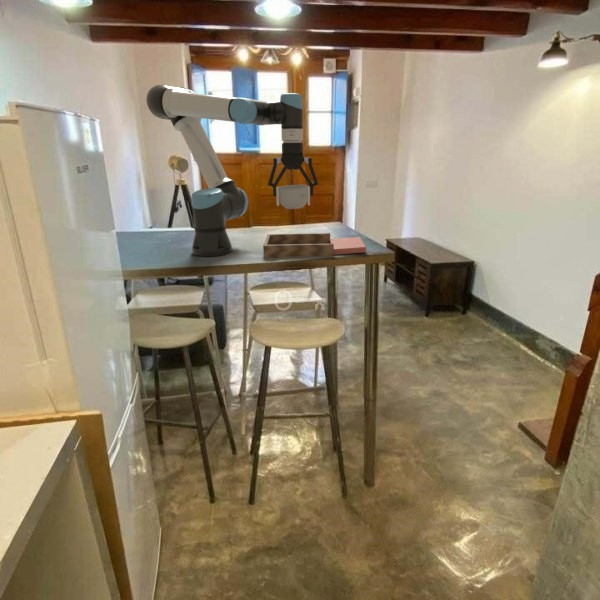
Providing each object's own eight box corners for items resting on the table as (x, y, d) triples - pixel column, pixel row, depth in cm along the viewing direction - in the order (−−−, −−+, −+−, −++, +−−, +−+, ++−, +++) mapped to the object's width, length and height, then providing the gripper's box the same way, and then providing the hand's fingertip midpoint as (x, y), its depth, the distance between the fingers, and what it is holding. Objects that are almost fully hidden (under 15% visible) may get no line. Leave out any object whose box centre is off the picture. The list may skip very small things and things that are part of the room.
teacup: (305, 210, 149) (304, 187, 146) (275, 210, 151) (274, 187, 148) (311, 204, 162) (311, 183, 159) (284, 204, 164) (283, 183, 161)
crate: (263, 257, 153) (263, 245, 151) (268, 245, 172) (267, 234, 170) (333, 256, 152) (333, 244, 151) (329, 243, 171) (330, 233, 170)
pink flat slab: (333, 249, 153) (365, 246, 153) (329, 239, 169) (359, 236, 169) (333, 254, 154) (366, 252, 153) (330, 244, 170) (359, 241, 170)
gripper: (258, 142, 145) (261, 206, 153) (325, 141, 145) (325, 206, 152) (260, 142, 152) (263, 204, 160) (324, 141, 152) (324, 203, 159)
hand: (293, 205), depth 156 cm, fingers closed on teacup, 11 cm apart
